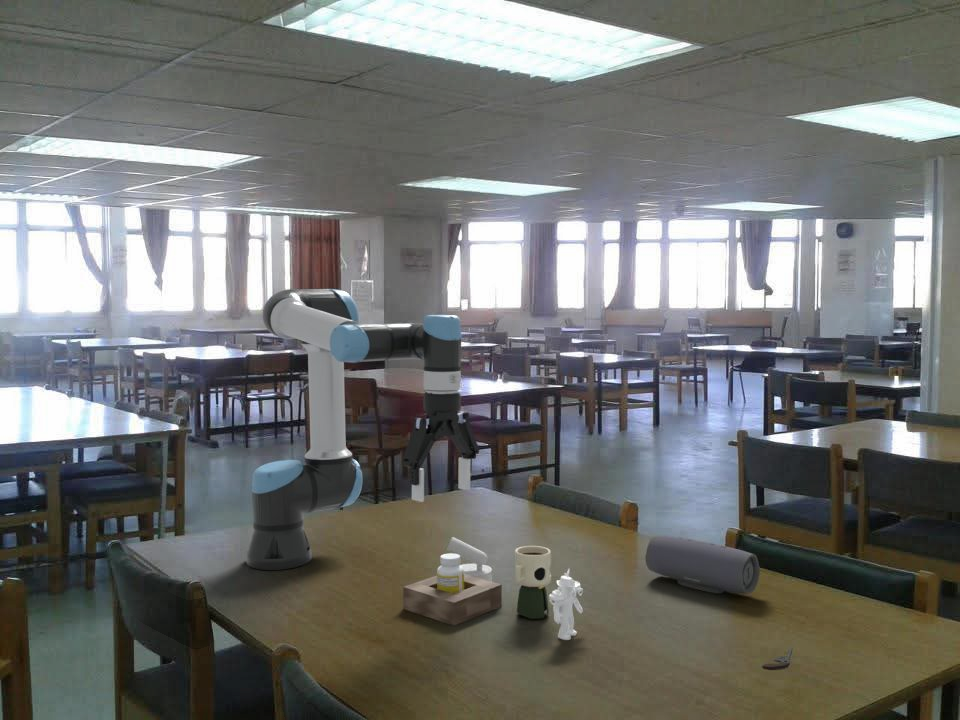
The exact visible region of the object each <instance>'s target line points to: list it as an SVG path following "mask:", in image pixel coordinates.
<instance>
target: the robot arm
mask: <svg viewBox="0 0 960 720" xmlns="http://www.w3.org/2000/svg"><path fill="white" fill-rule="evenodd" d="M359 317H360V316H359V311H358V307H357V305H356V303H355V300H354V298H352V296H351V295H350V294H349V293H348V292H346V291H345V290H341V289H335V288H334V289H333V288H319V289H318V288H317V289H316V288H312V289H311V288H302V289H301V288H299V289H297V288H288V289H283V290H280V291H278V292H276V293H275V294H273V295H271V296H270V297H269V298H268V299H267V301H266V302H265V304H264V306H263V309H262V320H263V324H264V326H265V328H266V329H267V330H268V332H269V333H271V334H272V335H274V336H276V337H277V338H278V337H279V338H281V339H284V340H294V339H297V340H300V342H301V346H302V347H303V348H304V349H305V350H306V351H307V359H308V360H307V367H308V395H309V397H308V398H309V399H308V400H309V401H308V403H309V436H310V439H309V440H310V441H309V442H310V448H309V450H308V451H307V452H306V453H305V455H304V464H303V463H302V461H300V460H297V459H286V460H277V461H276V460H275V461H272V462H268V463H265V464H263V465H262V464H261V466H259V467H257V468H255V470H254V472H253V473H252V479H251V481H252V482H251V493H252V494H251V495H252V498H251V499H252V522H253V523H252V525H253V527H252V528H253V530H252V534H251V538H250V541H249V545H248V549H247V551H246V555H245V556H246V557H245V558H246V559H245V560H246V563H245V564H246V565H247V566H248V567H250V568H252V569H255V570H262V571H263V570H265V571H279V570H280V571H281V570H288V569H294V568H297V567H301V566H304V565H306V564H308V563H309V562H311V561H312V549H311V545H310V542H309V540H308V535H307V533H306V531H305V528H304V514H308V513H314V512H320V511H321V512H322V511H327V510H332V509H333V510H338V509H341V508H343V507H347V506H350V505H352V504H354V503H355V502H356V500H357V499H358V498H359V496H360V494H361V491H362V486H363V472H362V470H361V465H360V464H359V462H358V461H357V460H356V459H354V458H353V452H351V451H350V450H349V449H348V448H347V446H346V445H347V444H346V443H347V442H346V439H347V438H346V404H345V403H346V402H345V401H346V399H345V398H346V397H345V369H344V368H345V364H344V363H350V364H351V363H352V364H356V363H363V362H364V363H365V362H378V361H379V362H380V361H401V360H421V361H423V390H425V391H424V393H423V410H424V411H425V413H426V414H425V415H426V416H425V418H421V417H415V418H413V427H412V431H411V434H410V437H409V439H408V443H407V446H406V449H405V451H404V455H403V457H402V459H401V465H402V466H403V467H406V468H409V484H410V485H411V500H412V501H416V502H420V503H424V502H425V468H422V466H423V464H424V463H425V460H426V459H427V457H428V455H429V453H430V451H431V449H432V448H433V447H434V445H435V443H436V442H437V441H438V440H439V439H444V438H445V437H446V438H447V437H448V438H449V439H450V441H451V442H452V443H453V445H454V446H455V448H456V449H457V451H458V453H459V454H460V456H461V457H458V481H457V482H458V483H457V484H458V486H457V487H458V489H459V490H464V491H470V490H471V474H472V471H473V469H472V468H473V466H472V465H473V459H476V458H477V455H478V454H480V448H479V446H478V443H477V440H476V437H475V434H474V430H473V429H472V426H471V423H470V413H469V412H467V411H461V408H462V407H461V406H462V405H461V402H462V401H461V399H462V398H461V397H462V396H461V395H462V394H461V393H460V392H459V391H460V390H461V385H462V383H461V382H462V381H461V371H462V369H461V368H462V367H461V365H462V338H463V335H462V326H461V324H462V323H461V319H460V317H459V316H458V315H456V314H455V315H453V314H451V315H450V314H427V315H425V317H424V318H423V323H414V322H408V321H407V322H405V321H404V322H397V323H379V324H378V323H377V324H374V323H362V322H359V321H360V319H359Z"/></svg>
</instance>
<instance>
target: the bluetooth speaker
mask: <svg viewBox="0 0 960 720" xmlns="http://www.w3.org/2000/svg"><path fill="white" fill-rule="evenodd" d="M649 539H650V540H649V542H648V544H647V548H646V551H645V565H646V567H647V568H648V570H649V571H651V572H653V573H655V574H658V575H660V576H661V575H662V576H665V577H669V578H670V579H675V580H677V583H678V585H681V586H684V587H687V588H691V589H695V590H699V591H703V592H707V593H712V594H719V595H720V594H723V593H725V592H729V593H730V592H731V593H735V594H743V595H744V594H745V595H749V594H752V593H753V592H754V591H755V589H756V588H757V586H758V583H759V579H760V573H761V570H760V569H761V568H760V564H759V560H758V556H757V555H756V554H754V553H752V552H748V551H745V550H741V549H737V548H734V547H730V546H726V545H721V544H718V543H712V542H708V541H703V540H698V539H692V538H686V537H681V536H673V535H667V534H655V535H653V536H652V537H651V538H649Z"/></svg>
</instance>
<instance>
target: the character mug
mask: <svg viewBox="0 0 960 720" xmlns="http://www.w3.org/2000/svg"><path fill="white" fill-rule="evenodd" d="M551 564H552V552H551V549H549V548H548V547H544V546H541V545H525V546H520V547H517V548H515V551H514V580H515V583H516V584H517V585H520V588H519V590H518V591H519V592H518V597H517V603H516V604H517V607H516V613H517V614H519V615H520V616H522V617H525V618H528V619H542V618H545V612H546V615H547V616H549V614H550V610H549V609H550V607H549V598H548V593H547V588H546V586H548V585H549V584H550V583H551V581H552V572H551Z"/></svg>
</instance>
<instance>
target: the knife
mask: <svg viewBox="0 0 960 720" xmlns="http://www.w3.org/2000/svg"><path fill="white" fill-rule="evenodd" d="M788 650H789V651H788V653H787V655H788V656H786V657H787V658H786V659H785V655H782V656H779V657H780V658H779V657H775V658H773V661H775V662H778V661H779V662H778V663H764V664H763V665H762V668H763V669H764V670H768V671H769V670H781V669H780V668H783V669H785V667H786V668H788V667H789V665H790V658H791V655H792V650H793V647H792V646H790V647H789V649H788ZM783 656H784V657H783ZM783 658H784V659H783ZM781 659H782V660H781Z"/></svg>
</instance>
